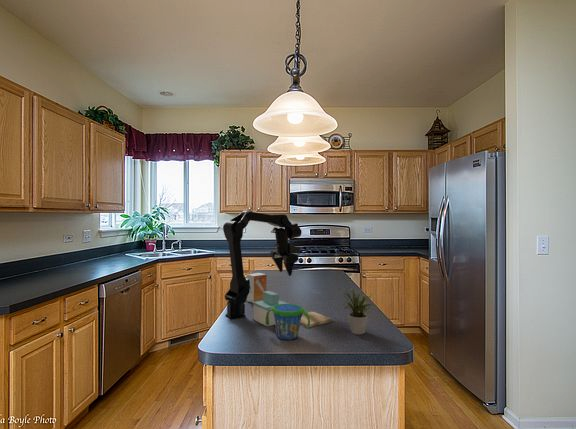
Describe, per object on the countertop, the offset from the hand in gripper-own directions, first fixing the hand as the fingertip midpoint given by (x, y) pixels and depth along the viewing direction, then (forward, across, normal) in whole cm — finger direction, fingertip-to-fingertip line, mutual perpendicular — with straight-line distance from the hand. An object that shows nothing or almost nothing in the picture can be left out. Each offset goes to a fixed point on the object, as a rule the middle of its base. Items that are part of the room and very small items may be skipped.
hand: (285, 273), depth 155 cm
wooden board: (+14, -25, +3) cm, 29 cm away
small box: (+14, +13, +11) cm, 22 cm away
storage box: (+12, -18, +17) cm, 28 cm away
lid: (+7, -18, +17) cm, 26 cm away
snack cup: (+11, -37, +19) cm, 43 cm away
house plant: (+14, -43, -5) cm, 46 cm away
